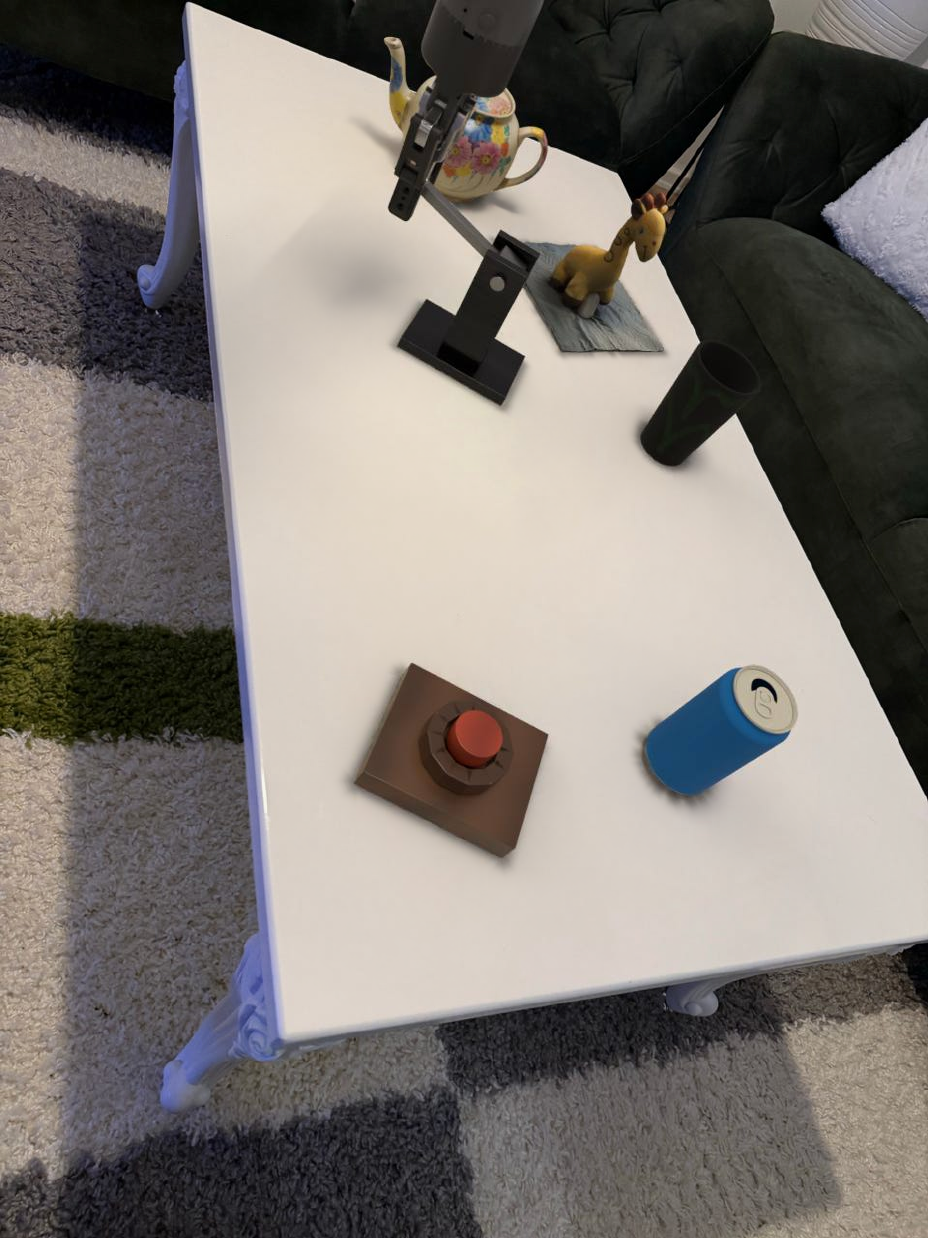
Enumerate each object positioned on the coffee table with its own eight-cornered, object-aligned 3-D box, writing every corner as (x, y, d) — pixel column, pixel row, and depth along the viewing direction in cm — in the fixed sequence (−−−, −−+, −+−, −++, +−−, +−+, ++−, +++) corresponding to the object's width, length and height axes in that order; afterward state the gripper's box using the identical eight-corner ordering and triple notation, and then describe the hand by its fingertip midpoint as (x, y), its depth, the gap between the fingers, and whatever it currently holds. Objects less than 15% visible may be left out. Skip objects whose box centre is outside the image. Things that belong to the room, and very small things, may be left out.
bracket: (396, 346, 88) (443, 238, 79) (422, 306, 94) (469, 200, 84) (500, 406, 90) (559, 307, 80) (520, 364, 95) (578, 266, 85)
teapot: (497, 163, 116) (543, 62, 106) (522, 230, 110) (574, 129, 100) (352, 123, 107) (387, 8, 97) (370, 193, 101) (410, 78, 91)
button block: (353, 783, 62) (371, 761, 59) (401, 675, 68) (419, 650, 65) (502, 858, 63) (527, 840, 60) (536, 745, 70) (560, 724, 67)
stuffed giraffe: (562, 350, 99) (640, 226, 87) (493, 245, 106) (557, 117, 94) (660, 354, 108) (743, 241, 96) (591, 256, 115) (661, 140, 103)
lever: (395, 195, 79) (410, 176, 77) (413, 173, 82) (428, 154, 80) (501, 300, 83) (517, 284, 81) (514, 275, 86) (531, 259, 85)
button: (439, 752, 61) (448, 742, 60) (455, 712, 64) (464, 701, 62) (484, 775, 62) (494, 766, 61) (498, 734, 64) (508, 724, 63)
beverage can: (709, 745, 77) (803, 681, 68) (703, 811, 73) (802, 752, 64) (645, 715, 76) (732, 646, 67) (636, 779, 72) (727, 715, 63)
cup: (627, 413, 98) (690, 330, 89) (684, 429, 101) (751, 351, 92) (638, 465, 94) (706, 383, 85) (697, 480, 97) (769, 403, 87)
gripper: (470, -40, 73) (399, 150, 85) (413, 9, 63) (343, 213, 76) (548, 13, 74) (466, 192, 86) (503, 67, 64) (419, 259, 77)
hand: (409, 201), depth 81 cm, fingers closed on lever, 5 cm apart
